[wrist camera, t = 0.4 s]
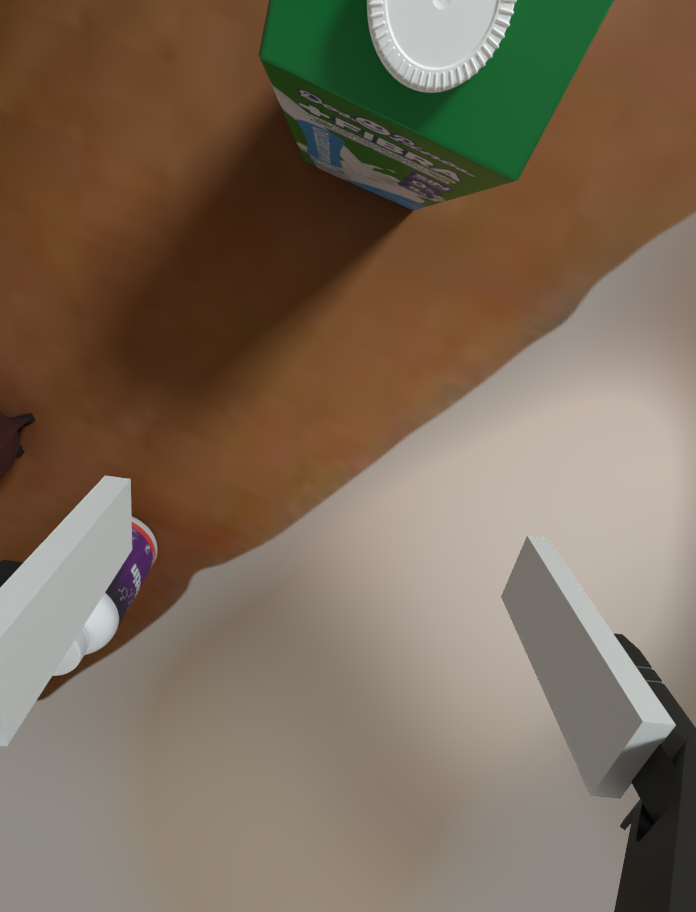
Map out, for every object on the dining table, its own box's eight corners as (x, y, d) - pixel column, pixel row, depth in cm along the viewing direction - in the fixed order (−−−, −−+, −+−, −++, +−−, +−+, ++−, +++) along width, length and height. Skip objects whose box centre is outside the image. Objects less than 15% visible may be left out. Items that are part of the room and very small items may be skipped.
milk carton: (303, 162, 34) (242, 27, 12) (346, 12, 31) (378, -593, 8) (414, 211, 36) (547, 175, 13) (467, 74, 32) (772, -290, 10)
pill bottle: (146, 580, 51) (82, 699, 38) (72, 553, 49) (-22, 668, 36) (171, 526, 48) (110, 635, 35) (93, 495, 46) (-2, 597, 33)
